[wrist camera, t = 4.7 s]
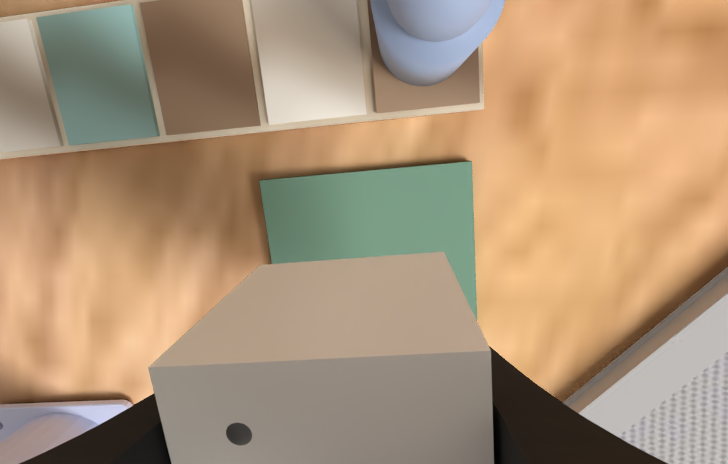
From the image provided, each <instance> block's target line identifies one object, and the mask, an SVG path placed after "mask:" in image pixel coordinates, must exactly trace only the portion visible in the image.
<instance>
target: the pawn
mask: <svg viewBox="0 0 728 464" xmlns="http://www.w3.org/2000/svg"><path fill="white" fill-rule="evenodd" d="M370 1H371V9H372V14H373V19H374V24H375V29H376V34H377V39H378V44H379V49H380V53H381V57H382V59H383V62H384V63H385V65H386V67H387V68H388V70H389V71H390V72H391V73H392V74H393V75H394V76H395V77H396V78H397V79H399V80H401V81H402V82H404V83H407V84H409V85H413V86H431V85H434V84H438V83H440V82H442V81H444V80H445V79H447V78H448V77H450V76H451V75H452V74H453V73H454V72H455V71H456V70H457V69H458V68H459V67H460V66H461V65H462V64H463V62H464V61H465V60H466V59H467V58H468V57H469V56H470V55H471V54H472V53H473V51H474V50H475V49H476V48H477V47H478V46H479V45H480V44H481V43H482V42H483V40H484V39H485V38H486V37H487V36H488V35H489V33H490V32H491V31H492V29H493V28H494V26H495V24H496V23H497V21H498V19H499V17H500V14H501V12H502V9H503V6H504V3H505V0H370Z"/></svg>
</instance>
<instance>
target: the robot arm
mask: <svg viewBox="0 0 728 464" xmlns="http://www.w3.org/2000/svg"><path fill="white" fill-rule="evenodd" d="M489 348H490V350H491V371H492V406H493V442H494V464H668V463H666V462H664V461H662V460H660V459H658V458H656V457H654V456H652V455H650V454H648V453H646V452H644V451H642V450H641V449H639V448H637V447H635V446H633V445H631V444H629V443H628V442H626V441H624V440H622V439H621V438H619V437H617V436H615V435H614V434H612V433H610V432H609V431H607V430H605V429H603V428H602V427H600V426H598V425H597V424H595V423H593V422H591V421H590V420H588V419H587V418H585V417H583V416H582V415H580V414H579V413H577V412H576V411H574V410H572V409H571V408H569V407H568V406H567V405H565V404H564V403H562V402H561V401H559V400H558V399H556V398H555V397H553V396H552V395H551V394H549V393H548V392H546V391H545V390H544V389H542V388H541V387H539V386H538V385H537V384H535V383H534V382H533V381H531V380H530V379H529V378H528V377H526V376H525V375H524V374H522V373H521V372H520V371H519V370H517V369H516V368H515V367H514V366H512V365H511V364H510V363H509V362H507V361H506V360H505V359H504V358H503V357H502V356H500V355H499V354H498V353H497V352H496V351H494V350H493V349H492V348H491V347H490V346H489ZM0 464H171V460H170V456H169V451H168V447H167V443H166V439H165V435H164V431H163V427H162V423H161V418H160V414H159V410H158V406H157V402H156V398H155V394H152V395H151V396H149V397H147V398H145V399H144V400H142V401H140V402H138V403H137V404H135V405H132V404H131V403H130V402H129V401H127V400H100V401H74V402H48V403H22V404H0Z"/></svg>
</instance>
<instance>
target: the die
mask: <svg viewBox="0 0 728 464" xmlns="http://www.w3.org/2000/svg"><path fill="white" fill-rule="evenodd" d="M148 369H149V373H150V377H151V381H152V385H153V390H154V394H155V398H156V402H157V406H158V410H159V414H160V418H161V423H162V427H163V431H164V435H165V439H166V443H167V447H168V451H169V456H170V460H171V464H494V442H493V406H492V371H491V350H490V348H489V345H488V343H487V341H486V339H485V337H484V335H483V333H482V331H481V329H480V327H479V325H478V322H477V320H476V318H475V316H474V314H473V312H472V310H471V308H470V306H469V304H468V301H467V299H466V297H465V295H464V293H463V291H462V289H461V287H460V285H459V283H458V280H457V278H456V276H455V274H454V272H453V270H452V268H451V266H450V264H449V262H448V259H447V257H446V255H445V253H444V252H431V253H418V254H404V255H390V256H376V257H363V258H349V259H335V260H322V261H308V262H294V263H280V264H267V265H259V266H258V267H257V268H256V269H255V270H254V271H253V272H252V273H251V274H250V275H249V276H247V277H246V278H245V279H244V280H243V281H242V282H241V283H240V284H239V285H238V286H237V287H235V288H234V289H233V290H232V291H231V292H230V293H229V294H228V295H227V296H226V297H225V298H223V299H222V300H221V301H220V302H219V303H218V304H217V305H216V306H215V307H214V308H213V309H211V310H210V311H209V312H208V313H207V314H206V315H205V316H204V317H203V318H202V319H201V320H199V321H198V322H197V323H196V324H195V325H194V326H193V327H192V328H191V329H190V330H189V331H187V332H186V333H185V334H184V335H183V336H182V337H181V338H180V339H179V340H178V341H177V342H175V343H174V344H173V345H172V346H171V347H170V348H169V349H168V350H167V351H166V352H165V353H163V354H162V355H161V356H160V357H159V358H158V359H157V360H156V361H155V362H154V363H153V364H151V365H150V366H149V367H148Z"/></svg>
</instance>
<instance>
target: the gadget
mask: <svg viewBox="0 0 728 464" xmlns="http://www.w3.org/2000/svg"><path fill="white" fill-rule="evenodd" d="M563 403H564V404H565V405H567V406H568V407H569V408H571V409H572V410H574V411H576V412H577V413H579V414H580V415H582V416H583V417H585V418H587V419H588V420H590V421H591V422H593V423H595V424H597V425H598V426H600V427H602V428H603V429H605V430H607V431H609V432H610V433H612V434H614V435H615V436H617V437H619V438H621V439H622V440H624V441H626V442H628V443H629V444H631V445H633V446H635V447H637V448H639V449H641V450H642V451H644V452H646V453H648V454H650V455H652V456H654V457H656V458H658V459H660V460H662V461H664V462H666V463H668V464H728V266H727V267H726V268H725V269H724V270H723V271H721V272H720V273H719V274H718V275H717V276H715V277H714V278H713V279H712V280H710V281H709V282H708V283H707V284H706V285H704V286H703V287H702V288H701V289H700V290H698V291H697V292H696V293H695V294H693V295H692V296H691V297H690V298H689V299H687V300H686V301H685V302H684V303H683V304H681V305H680V306H679V307H678V308H677V309H675V310H674V311H673V312H672V313H670V314H669V315H668V316H667V317H666V318H664V319H663V320H662V321H661V322H660V323H658V324H657V325H656V326H655V327H653V328H652V329H651V330H650V331H649V332H647V333H646V334H645V335H644V336H643V337H641V338H640V339H639V340H638V341H636V342H635V343H634V344H633V345H632V346H630V347H629V348H628V349H627V350H626V351H624V352H623V353H622V354H621V355H620V356H618V357H617V358H616V359H615V360H613V361H612V362H611V363H610V364H609V365H607V366H606V367H605V368H604V369H603V370H601V371H600V372H599V373H598V374H596V375H595V376H594V377H593V378H592V379H590V380H589V381H588V382H587V383H586V384H584V385H583V386H582V387H581V388H579V389H578V390H577V391H576V392H575V393H573V394H572V395H571V396H570V397H569V398H567V399H566V400H565V401H564V402H563Z"/></svg>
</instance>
